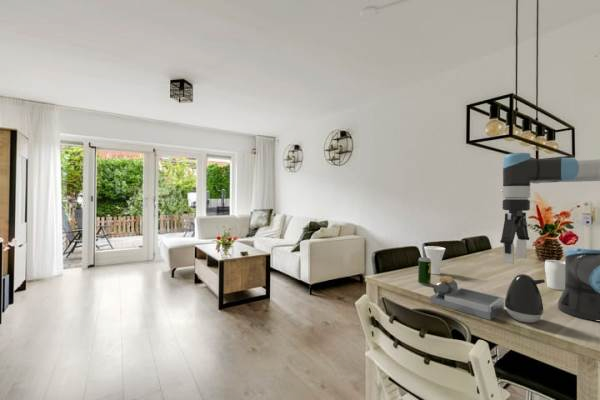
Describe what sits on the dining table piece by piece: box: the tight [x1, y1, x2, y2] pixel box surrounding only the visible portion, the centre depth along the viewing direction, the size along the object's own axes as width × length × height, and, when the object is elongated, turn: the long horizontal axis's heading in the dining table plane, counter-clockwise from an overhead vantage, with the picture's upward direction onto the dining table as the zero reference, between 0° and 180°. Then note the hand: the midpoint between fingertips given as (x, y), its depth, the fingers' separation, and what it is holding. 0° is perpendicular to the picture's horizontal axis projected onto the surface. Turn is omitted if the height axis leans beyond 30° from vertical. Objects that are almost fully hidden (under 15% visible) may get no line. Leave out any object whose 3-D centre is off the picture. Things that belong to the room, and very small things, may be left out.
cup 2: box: [544, 259, 565, 291], centre depth 131 cm, size 9×9×12 cm
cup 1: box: [423, 245, 446, 275], centre depth 154 cm, size 10×10×14 cm
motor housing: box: [429, 275, 505, 321], centre depth 108 cm, size 20×15×9 cm
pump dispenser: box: [504, 273, 546, 324], centre depth 96 cm, size 10×10×15 cm
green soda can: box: [417, 256, 432, 286], centre depth 135 cm, size 5×5×12 cm
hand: (515, 260), depth 99 cm, fingers open, 13 cm apart
